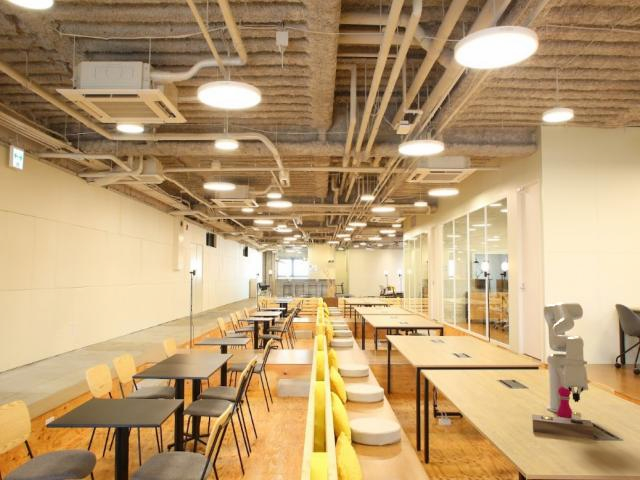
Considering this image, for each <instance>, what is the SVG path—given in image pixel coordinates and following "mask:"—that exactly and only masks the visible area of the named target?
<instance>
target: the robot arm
mask: <svg viewBox="0 0 640 480" xmlns="http://www.w3.org/2000/svg"><path fill="white" fill-rule="evenodd" d="M583 315H584V311H583V308H582V306H581V304H580V303H577V302H558V303H555V304H547V305H545V306H544V307H543V316H544V319H545V322H546V324H547V328H548V329H547V330H548V343H549V348H550V350H551V351H552V352H553V351H554V352H561V353H551V354H550V355H548V356H547V358H546V359H547V360H546V361H547V367H548V374H549V377H548V378H549V380H548V381H549V405H547V406H546V408H547V410H548V411H550V412H554V413H557V411H558V408H559V406H560V398H559V397H560V396H559V395H560V394H559V393H558V389H559V387H561V386H562V384H563V383H564V386H563V387H564V388H566V389H569V390H570V391H571V394H572V400H573V402H574V403H575V402H576V403H579V401H580V400H581V397H580V396H581V393H582V392H583V391H588V390H589V385H588V384H589V381H588V372H587V368H586V366H585V365H587V364H588V361H586V360H584V346H585V345H584V344H585V343H584V339H583V338H582V337H581V336H580V335H573V334H572V335H571V334H570V335H569V334H566V332H568V331H571V330H572V329H573V328H574V327H575V320H580V319H581V318H583ZM564 353H565V354H564ZM575 388H577V389H576V390H575ZM571 410H572V411H573V409H572V408H571Z"/></svg>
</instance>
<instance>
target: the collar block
mask: <svg viewBox="0 0 640 480" xmlns="http://www.w3.org/2000/svg"><path fill="white" fill-rule="evenodd" d="M543 417H550V418H552V420H543ZM531 418H532V431H533V432H532V433H536V434H545V435H551V436H552V435H554V436H560V437H569V438H570V437H571V438H576V439H585V440H593V441H594V440H595V432H594V431H595V430H594V425H593V422H592V421H591V420H588V419H581V424H579V423H572V418H562V417H559V416H553V415H543V414H542V415H541V414H533V413H532V417H531Z"/></svg>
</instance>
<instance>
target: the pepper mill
mask: <svg viewBox="0 0 640 480" xmlns="http://www.w3.org/2000/svg"><path fill="white" fill-rule="evenodd" d="M563 386H564V383H563V384H562V386H561V387H559V389H558V393H559V394H560V395H559V396H560V397H559V398H560V406H559V408H558V411H557V412H556V414H557V417H562V418H572V412H573V409H572V408H571V406H570V399H571V394H572V392H571V391H570V390H569V389H566V388H564V387H563ZM571 409H572V410H571Z"/></svg>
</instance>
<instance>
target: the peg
mask: <svg viewBox="0 0 640 480" xmlns="http://www.w3.org/2000/svg"><path fill="white" fill-rule="evenodd" d="M581 420H582V413H581V412H576V411H575V412H574V411H572V423H579V424H581Z"/></svg>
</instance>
